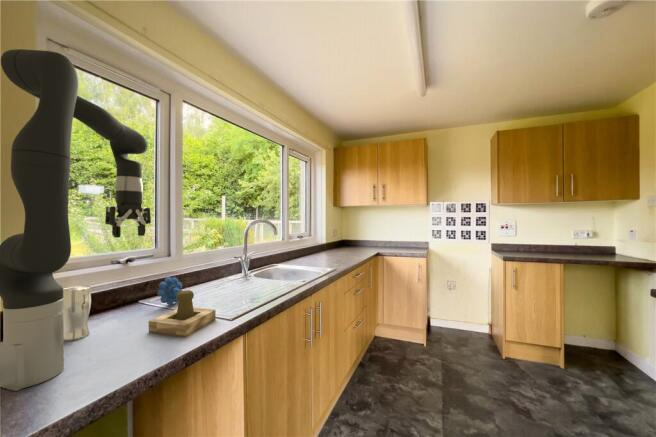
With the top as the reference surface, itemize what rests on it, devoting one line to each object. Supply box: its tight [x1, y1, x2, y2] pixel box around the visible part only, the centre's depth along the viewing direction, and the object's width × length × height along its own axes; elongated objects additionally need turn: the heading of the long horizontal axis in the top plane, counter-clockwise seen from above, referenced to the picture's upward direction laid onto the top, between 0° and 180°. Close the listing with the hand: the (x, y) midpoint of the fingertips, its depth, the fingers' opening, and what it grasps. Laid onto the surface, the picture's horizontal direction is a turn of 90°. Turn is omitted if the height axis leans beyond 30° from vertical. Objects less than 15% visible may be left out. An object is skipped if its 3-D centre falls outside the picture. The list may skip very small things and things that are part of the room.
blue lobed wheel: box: [157, 276, 183, 306], centre depth 109 cm, size 12×7×12 cm, turn 164°
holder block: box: [148, 307, 216, 338], centre depth 88 cm, size 14×14×4 cm
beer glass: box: [63, 285, 92, 342], centre depth 80 cm, size 7×7×15 cm
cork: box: [176, 289, 195, 321], centre depth 89 cm, size 6×6×11 cm
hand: (129, 236), depth 91 cm, fingers open, 8 cm apart
